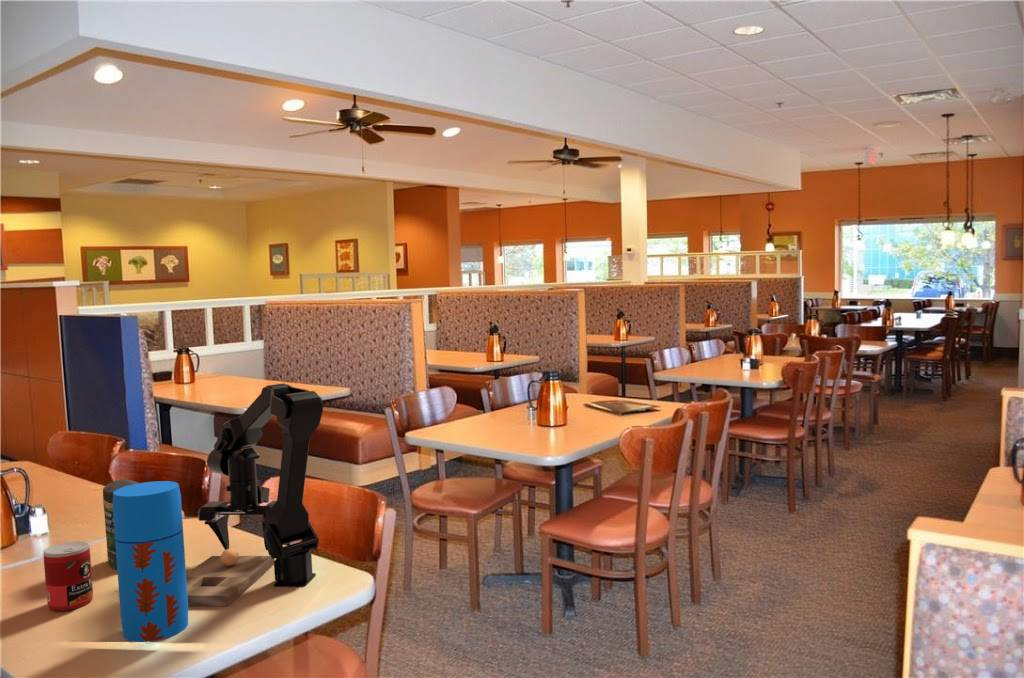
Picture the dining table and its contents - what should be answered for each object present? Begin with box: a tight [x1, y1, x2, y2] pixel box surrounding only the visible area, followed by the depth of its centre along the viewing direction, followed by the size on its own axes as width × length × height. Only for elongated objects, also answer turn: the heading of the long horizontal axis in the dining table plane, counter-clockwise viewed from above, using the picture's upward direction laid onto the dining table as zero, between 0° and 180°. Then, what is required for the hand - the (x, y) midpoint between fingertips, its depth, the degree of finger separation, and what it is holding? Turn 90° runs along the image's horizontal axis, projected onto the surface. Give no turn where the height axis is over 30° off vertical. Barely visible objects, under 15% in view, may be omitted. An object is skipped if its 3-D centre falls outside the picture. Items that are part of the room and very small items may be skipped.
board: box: [186, 555, 276, 607], centre depth 162 cm, size 14×22×2 cm, turn 174°
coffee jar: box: [102, 478, 140, 571], centre depth 175 cm, size 10×8×19 cm
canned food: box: [42, 540, 94, 612], centre depth 154 cm, size 8×8×11 cm
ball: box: [220, 548, 240, 566], centre depth 167 cm, size 4×4×4 cm
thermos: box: [113, 480, 189, 643], centre depth 140 cm, size 11×11×25 cm
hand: (247, 549), depth 175 cm, fingers open, 9 cm apart
